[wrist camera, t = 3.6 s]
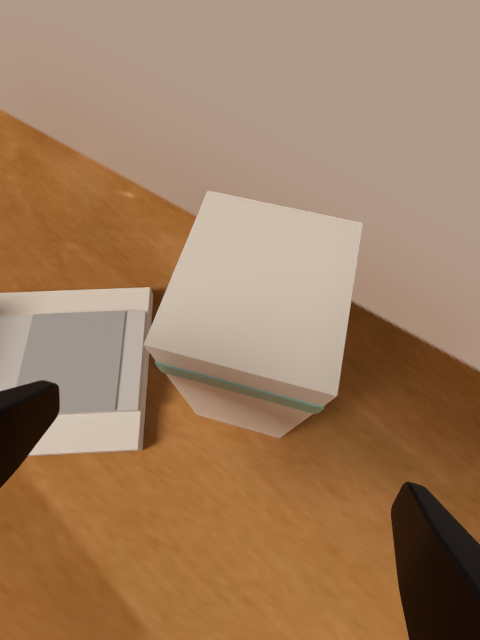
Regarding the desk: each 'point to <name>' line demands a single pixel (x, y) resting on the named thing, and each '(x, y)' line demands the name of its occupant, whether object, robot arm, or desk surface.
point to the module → (257, 313)
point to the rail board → (81, 363)
